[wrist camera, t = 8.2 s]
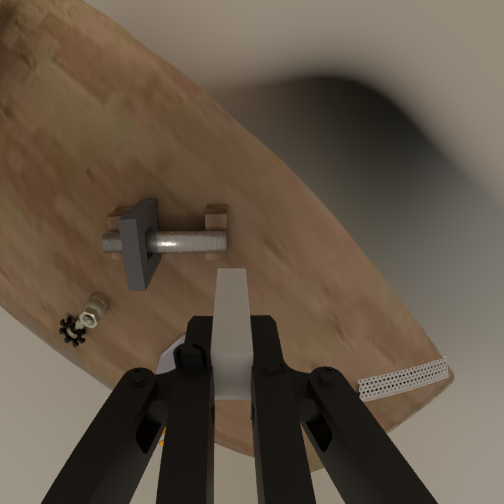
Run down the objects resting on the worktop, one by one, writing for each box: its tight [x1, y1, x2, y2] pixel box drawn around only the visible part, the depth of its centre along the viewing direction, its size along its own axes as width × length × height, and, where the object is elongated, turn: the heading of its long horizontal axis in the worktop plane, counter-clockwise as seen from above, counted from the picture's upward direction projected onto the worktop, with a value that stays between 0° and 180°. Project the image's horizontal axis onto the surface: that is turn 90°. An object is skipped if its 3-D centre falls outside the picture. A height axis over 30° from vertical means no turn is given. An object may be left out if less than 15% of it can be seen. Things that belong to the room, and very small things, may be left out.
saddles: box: [106, 205, 227, 260], centre depth 44 cm, size 18×7×5 cm, turn 89°
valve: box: [59, 293, 109, 347], centre depth 49 cm, size 7×7×12 cm
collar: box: [118, 199, 161, 291], centre depth 40 cm, size 2×10×10 cm, turn 179°
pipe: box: [102, 231, 227, 253], centre depth 40 cm, size 18×3×3 cm, turn 89°
